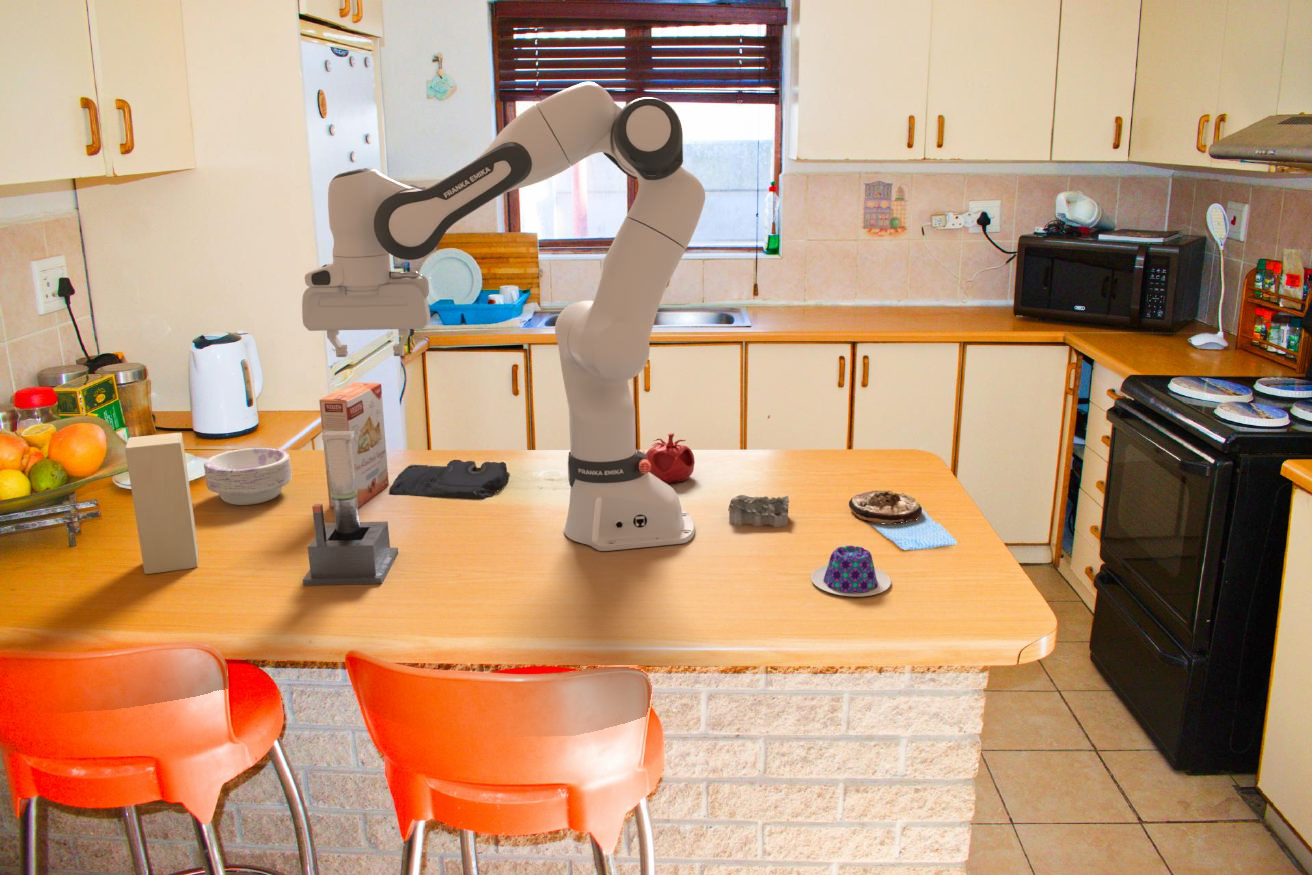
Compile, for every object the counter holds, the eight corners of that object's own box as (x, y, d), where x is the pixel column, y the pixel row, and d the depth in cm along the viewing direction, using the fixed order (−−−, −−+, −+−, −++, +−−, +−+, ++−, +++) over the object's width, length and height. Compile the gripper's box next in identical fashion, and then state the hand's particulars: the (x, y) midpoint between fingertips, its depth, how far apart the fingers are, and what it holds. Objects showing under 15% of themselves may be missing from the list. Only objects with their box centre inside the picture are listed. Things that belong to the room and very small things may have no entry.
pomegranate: (638, 474, 210) (636, 430, 207) (685, 468, 213) (684, 424, 210) (653, 489, 201) (651, 442, 198) (702, 482, 204) (701, 437, 201)
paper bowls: (305, 483, 207) (300, 445, 204) (276, 511, 192) (271, 470, 190) (229, 484, 207) (223, 445, 205) (194, 511, 193) (188, 470, 190)
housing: (398, 553, 173) (391, 481, 169) (381, 583, 161) (374, 507, 157) (325, 554, 172) (317, 483, 169) (303, 585, 161) (294, 509, 157)
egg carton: (726, 526, 183) (725, 504, 181) (731, 511, 190) (731, 490, 188) (787, 530, 181) (787, 507, 179) (790, 514, 188) (790, 492, 186)
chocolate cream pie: (863, 533, 179) (864, 511, 178) (830, 504, 193) (831, 482, 192) (942, 525, 182) (944, 503, 181) (904, 497, 196) (905, 476, 195)
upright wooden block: (200, 550, 175) (182, 430, 169) (199, 567, 168) (180, 442, 162) (148, 558, 172) (127, 436, 166) (144, 575, 165) (123, 448, 159)
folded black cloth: (413, 472, 214) (411, 450, 213) (516, 476, 211) (515, 454, 209) (382, 497, 200) (380, 474, 198) (492, 503, 196) (491, 479, 195)
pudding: (795, 578, 162) (795, 546, 160) (855, 561, 167) (857, 531, 166) (844, 607, 152) (846, 574, 150) (907, 589, 157) (909, 557, 156)
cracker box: (358, 510, 192) (347, 400, 186) (328, 508, 193) (316, 399, 187) (391, 485, 205) (382, 381, 199) (363, 483, 206) (353, 380, 200)
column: (365, 524, 167) (355, 429, 162) (359, 533, 163) (349, 436, 158) (337, 524, 167) (327, 429, 162) (330, 534, 163) (319, 436, 158)
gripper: (430, 268, 172) (437, 350, 176) (306, 270, 172) (315, 353, 176) (423, 273, 166) (430, 359, 170) (294, 276, 166) (303, 361, 170)
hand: (370, 356), depth 173 cm, fingers open, 8 cm apart
